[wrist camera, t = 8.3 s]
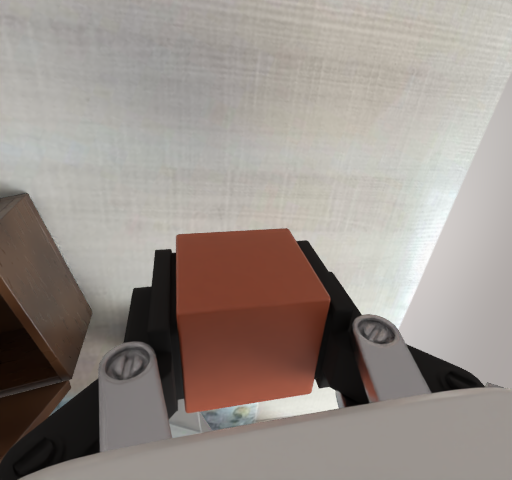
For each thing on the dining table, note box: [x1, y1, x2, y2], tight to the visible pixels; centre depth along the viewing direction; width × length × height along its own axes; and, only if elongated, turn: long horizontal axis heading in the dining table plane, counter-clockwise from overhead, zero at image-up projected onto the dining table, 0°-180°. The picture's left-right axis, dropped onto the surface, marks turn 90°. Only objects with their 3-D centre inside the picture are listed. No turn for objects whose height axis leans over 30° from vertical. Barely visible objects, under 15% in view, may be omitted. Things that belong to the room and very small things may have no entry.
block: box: [176, 228, 330, 413], centre depth 11 cm, size 4×4×4 cm
